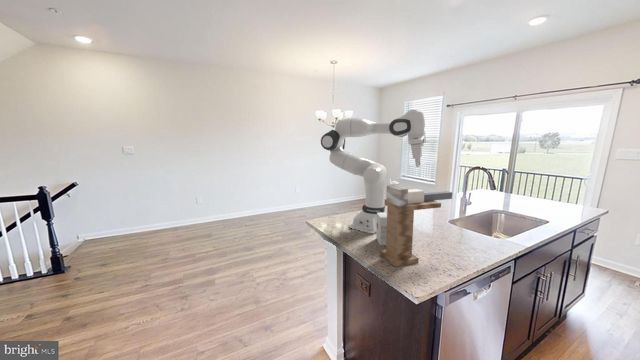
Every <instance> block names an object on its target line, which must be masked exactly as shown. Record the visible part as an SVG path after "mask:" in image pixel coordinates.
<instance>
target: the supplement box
mask: <svg viewBox="0 0 640 360" xmlns="http://www.w3.org/2000/svg"><path fill="white" fill-rule="evenodd" d="M386 236H387V212H385V213H381V212H380V213H377V232H376V241H377V243H378V245H379V246H386Z"/></svg>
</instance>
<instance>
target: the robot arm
mask: <svg viewBox="0 0 640 360" xmlns="http://www.w3.org/2000/svg"><path fill="white" fill-rule="evenodd" d="M425 126H426V121H425V115H424V112H423V111H422V110H419V109H409V110H408V111H407V112H405V113H404V114H403V115H401V116H400V117H397V118H395V119H393V120H391V122H374V121H371V120H368V119H365V118H358V117H357V118H356V117H355V118H354V117H353V118H351V117H350V118H345V119H344V118H343V119H340V120H337V121H336V123H335V127H334V128H335V129H331V130H329V131H328V132H326V133H324V134H322V136H321V137H320V144H321V147H322V149H324V150H327V151H329V152H330V155H329V162H330V163H331V164H332V165H334V166H336V167H337V168H340V169H341V170H343V171H346V172H348V173H350V174H352V175H354V176H360V177H362V178H363V182H364V189H365V203H364V204H363V205H362V207H361V210H362V211H360V212H359V213H356V214H355V216H354V217H353V218H352V221H351V222H350V223H349V226H348V228H349V227H350V228H352V229H351V230H354V229H356V230H355V231H358V230H360V232H363V231H364V232H363V233H368V234H374V233H377V213H380V212H381V213H386V206H385V200H386V199H385V198H386V197H385V195H386V193H385V186H384V185H385V184H384V180H385V178H386V177H387V172H388V171H387V168H386V167H385V165H383V164H381V163H378V162H375V161H372V160H370V159H366V158H363V157H361V156H358V155H357V154H353V153H350V152H348V151H346V150H345V146H346V138H360V137H367V136H370V135H375V134H385V135H386V134H387V135H388V134H389V135H393V136H395V137H398V138H403V137H406V136H407V145H410V149H411V154H412V159H413V160H415V161H414V162H415V167H416V168H419V167H420V165H421V157H422V155H423V152H422V151H423V150H422V149H423V148H422V147H424V144H426V131H425ZM350 228H349V229H350Z"/></svg>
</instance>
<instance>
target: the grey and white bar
mask: <svg viewBox="0 0 640 360" xmlns="http://www.w3.org/2000/svg"><path fill="white" fill-rule="evenodd" d="M452 199H453V192H452V191H449V190H446V191H435V192H434V191H433V192H425V190H424V189H423V190H422V189H419V188H411V189H408V204H410V203H420V202H424V201H443V200H452Z"/></svg>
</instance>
